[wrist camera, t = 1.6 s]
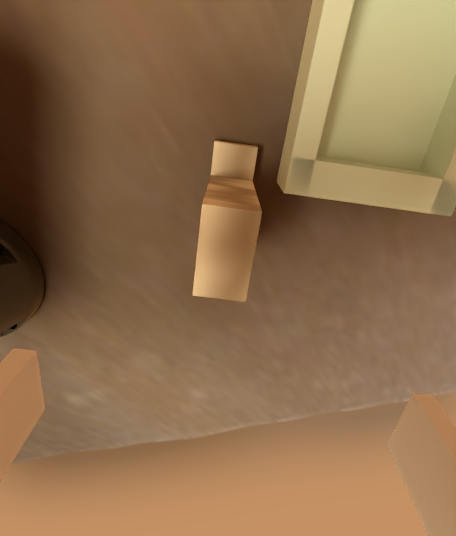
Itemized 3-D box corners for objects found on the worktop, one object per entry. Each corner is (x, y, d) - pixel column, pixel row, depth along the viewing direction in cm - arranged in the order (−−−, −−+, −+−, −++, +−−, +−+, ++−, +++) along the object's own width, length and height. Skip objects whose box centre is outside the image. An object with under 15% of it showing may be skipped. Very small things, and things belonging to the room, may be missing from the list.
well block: (276, 181, 33) (283, 193, 28) (327, -75, 25) (349, -116, 20) (421, 202, 34) (450, 216, 29) (517, -40, 25) (578, -71, 21)
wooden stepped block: (203, 238, 36) (192, 295, 25) (215, 139, 31) (207, 156, 20) (240, 243, 36) (245, 301, 25) (256, 146, 31) (270, 165, 21)
